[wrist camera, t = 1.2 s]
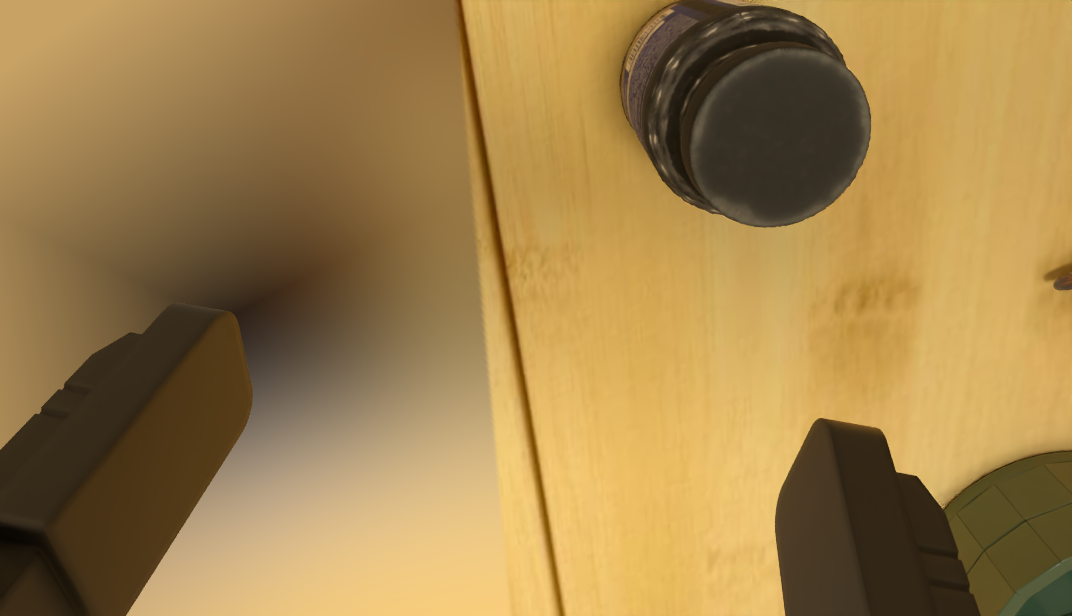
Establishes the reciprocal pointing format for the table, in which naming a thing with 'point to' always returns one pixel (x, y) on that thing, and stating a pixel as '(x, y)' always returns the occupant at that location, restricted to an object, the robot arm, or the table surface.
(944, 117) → the table surface
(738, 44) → the pill bottle
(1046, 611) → the pot
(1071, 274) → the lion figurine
